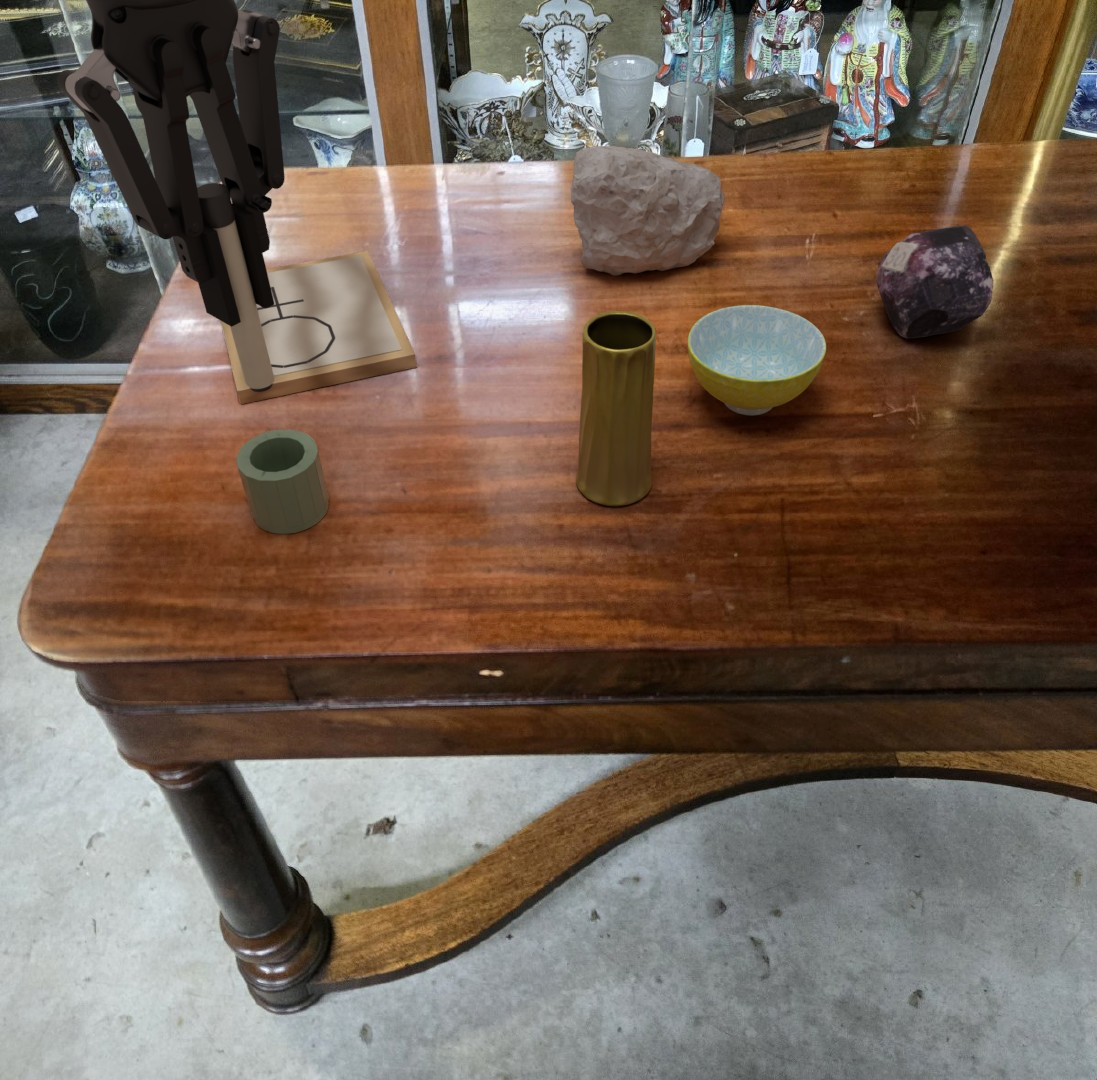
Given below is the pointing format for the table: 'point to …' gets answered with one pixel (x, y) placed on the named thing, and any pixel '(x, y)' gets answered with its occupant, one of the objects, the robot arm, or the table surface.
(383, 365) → the sketch board
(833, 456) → the table surface
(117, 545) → the table surface
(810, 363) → the bowl
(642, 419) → the vase
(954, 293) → the mineral specimen
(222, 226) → the pen
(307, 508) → the pencil pot
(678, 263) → the rough grey rock
